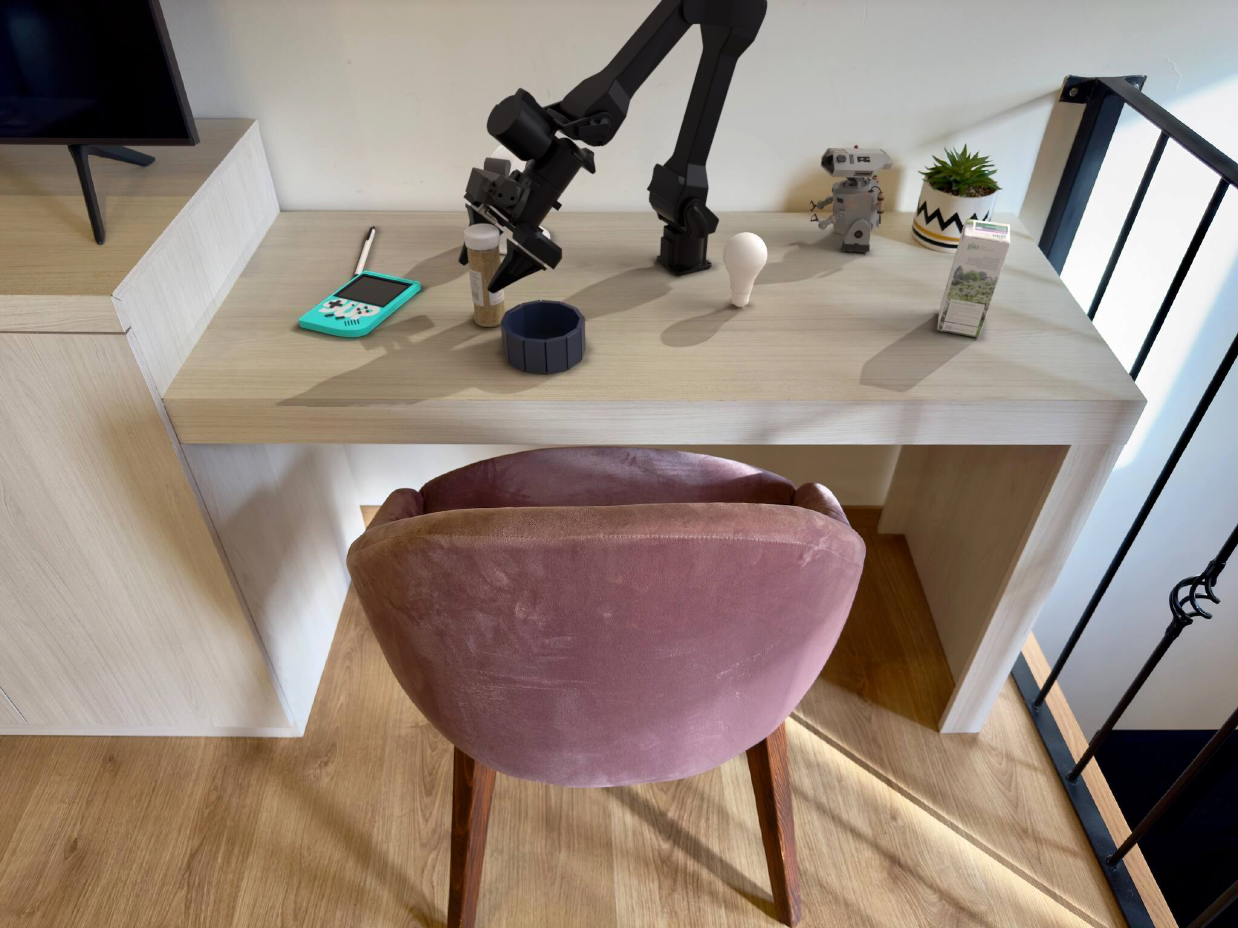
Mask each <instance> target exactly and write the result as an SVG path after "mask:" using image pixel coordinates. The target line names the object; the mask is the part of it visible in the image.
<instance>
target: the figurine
mask: <svg viewBox="0 0 1238 928" xmlns="http://www.w3.org/2000/svg"><path fill="white" fill-rule="evenodd" d="M820 158H821V159H820V167H821V168H822V169H823V170H824V171H825V172H826V173H827V174H828V175H829V176H830V177H832V178H846V179H844V180H840V181H838V182H834V183H833V184H832V187H831V193H832V196H831V195H827V196H826V197H825V198H824V199H823V200H821V199H820V200H818V201H817V203H814V201H813V200H812V199H811V200H810V202H809V205H811V204H812V208H809V210H810V212H813V211H814V209H815V208H817V209H818V210H820V211H822V210H823V209H824V208H825V207H827V206H829V205H832V214H830V215H829V216H828V218H826V219H825V220H821V219H820V218H818V216H817V214H816V213H814V214H813V215H812V216H811V217H810V220H809V221H810V223H813V222H817V223H818V225H817V227H818V229H820V230H821V231H824V230H825V229H827V227H828V226H830V225H831V224H832V227H833V230H834V233H837V234H841V235H844V240H843V241H842V243H841V246H840V248H841V251H842V252H843V253H850V254H852V253H853V252H856V253H857V254H861V253H862V254H864V255H865V254H866V253H869V252H870V250H871V249H870V247H871V245H870V242H871V241H870V240H871V233H872V232H874V231H875V230H877V229H879V227H880V225H881V224H882V215H883V214H884V213H885V209H884V208H885V205H884V204H885V202H884V201H885V193H884V191H882V190H881V188H880V186H879V176H878V175H877V174H878V173H880V172H881V171H882V170H890V169H891V168H892V166H893V164H894V161H893V159H892V158H891V156H889V154H888V153H887V152H885V150H883V149H882V148H859V144H855V145H854V147H853V148H852V147H851V148H848V147H847V148H846V147H844V148H841V147H828V148H827V149H826V150H825V152H824V153H823V154H822V155H821V157H820ZM814 217H815V218H814ZM813 218H814V219H813Z"/></svg>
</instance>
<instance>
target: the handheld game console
mask: <svg viewBox="0 0 1238 928" xmlns="http://www.w3.org/2000/svg"><path fill="white" fill-rule="evenodd" d="M421 289H422V288H421V282H420V281H417V280H413V279H408V278H404V277H399V276H393V275H389V274H384V273H380V272H376V271H370V270H362V273H360V274H359V275H357V276H356V277H355V278H354V277H353V278H352V279H351V280H350V281H348V282H347V283H345V284H344V285H343V286H341V287H340V288H338V289H337V290H336V291H334V292H333V293H332V294H330V295H329V296H328V297H326V298H325V299H324V300H322V301H320V303H318V304H317V305H315V306H314V307H312V309H310V310H309V311H307V312H306V313H304V314H303V315H301V316H300V317H299V318H298V319H297V320H298V324H299V327H300V328H302V329H306V330H310V331H315V332H319V333H324V334H327V335H332V336H336V337H342V338H359V337H364V336H366V335H368V334H370V332H372V331H373V330H374V329H375V328H377V327H378V326H379V325H380V324H381V323H383V322H384V321H385V320H386V319H387V318H389V317H390V316H391V315H392V314H393V313H394V312H395V311H397V310H398V309H399V308H401V307H402V306H403V305H404V304H405V303H406V302H408V301H409V300H410V299H411V298H412V297H414V296H415V295H416V294H418V293H419V292H420V291H421Z"/></svg>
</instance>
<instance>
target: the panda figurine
mask: <svg viewBox="0 0 1238 928" xmlns="http://www.w3.org/2000/svg"><path fill="white" fill-rule="evenodd" d="M530 161H531V160H529V161H521V160H520V159H518V158H517V157H516V156H515V155H514V154H512V153H511V152H510V151H509V150H508V149H507V148H505V147H504V146H503V145H502V144H501V145H499V146H498V147H496V148H495V150H494V151H493V153H492V154H491V156H490V157H489V156H488V157H485V159H484V161H483V170H486V171H489V172H493V173H496V174H499V175H503V176H505V177H509V175H510V174H511V173H512V171H514V170H516V169H517V170H519V171H520V172H523V171H524V169H525V168H526V166H527V165H528V164H529V162H530ZM495 225H496V226H497V227H499V228H500V229H501V230H502V231H503V232H504V233H503V234H501V235H500V244H499V252H500V255H505V256H506V254H507V242H506V240H507V238H508V239H509V240H510V241H512V242H513V243H515V244H516V245H517V244H518V243H517V242H516V241H515V240H514V239H513V238H512V235H513V233H512V232H511V231H510V230H509V229H508V228H506V227H505V226H504V227H502V226H501V225H499V224H498V223H496V224H495ZM512 226H513V225H512ZM513 227H514V226H513ZM539 227H540V228H541V229H543V230H544V231H543V233H542V234H544V235H545V236H546V237H547V238H549V239H550V240H551V234H550V232H549V231H548V230H547V229H546V228H545V227H543V226H540V225H539Z"/></svg>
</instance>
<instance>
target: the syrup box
mask: <svg viewBox="0 0 1238 928" xmlns="http://www.w3.org/2000/svg"><path fill="white" fill-rule="evenodd" d="M963 223H964V224H963V227H962V229H961V233H960V236H959V240H958V244H957V247H956V250H955V254H954V258H953V261H952V266H951V268H950V272H949V275H948V279H947V282H946V286H945V288H944V292H943V296H942V299H941V303H940V306H939V310H938V320H937V327H936V328H937V329H936V330H937V331H938V332H943V333H948V334H955V335H961V336H966V337H972V338H980V336H981V333H982V331H983V327H984V324H985V321H986V318H987V316H988V312H989V309H990V306H991V304H992V300H993V297H994V294H995V291H996V288H997V285H998V282H999V279H1000V276H1001V273H1002V270H1003V267H1004V264H1005V261H1006V259H1007V256H1008V253H1009V249H1010V246H1011V225H1010V224H1009V223H1008V224H1007V223H1000V222H993V221H987V220H986V221H985V220H979V219H973V218H972V219H971V218H965V220H964V222H963Z"/></svg>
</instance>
